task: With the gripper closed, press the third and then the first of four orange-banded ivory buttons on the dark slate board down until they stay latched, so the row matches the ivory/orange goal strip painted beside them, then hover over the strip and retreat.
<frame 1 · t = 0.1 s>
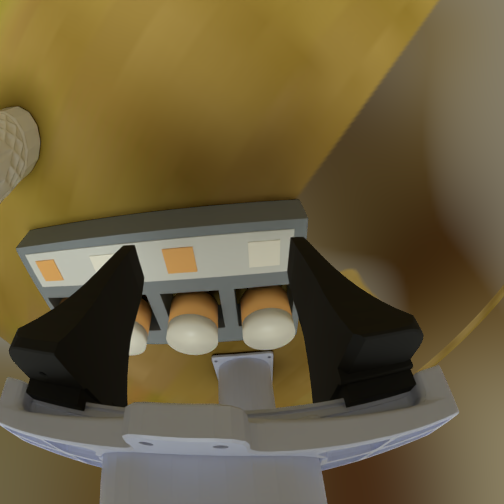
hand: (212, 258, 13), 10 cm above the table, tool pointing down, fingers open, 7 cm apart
board: (159, 276, 27), on the table
button 1: (266, 317, 25), point 4 cm above the table, slide at 0.0 cm
button 3: (126, 324, 24), point 4 cm above the table, slide at 0.0 cm
white cup: (15, 141, 17), on the table
button 4: (72, 324, 24), point 4 cm above the table, slide at 0.0 cm
button 2: (193, 322, 24), point 4 cm above the table, slide at 0.0 cm
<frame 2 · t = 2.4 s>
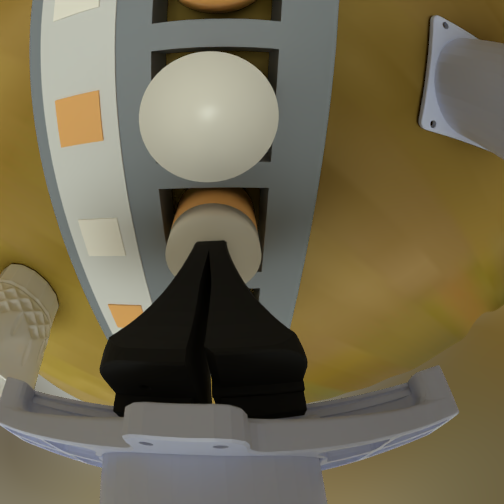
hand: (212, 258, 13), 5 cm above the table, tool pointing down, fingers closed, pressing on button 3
board: (179, 155, 15), on the table
button 3: (214, 234, 15), point 3 cm above the table, slide at 1.3 cm, touching gripper
white cup: (30, 289, 20), on the table
button 2: (211, 109, 10), point 4 cm above the table, slide at 0.0 cm
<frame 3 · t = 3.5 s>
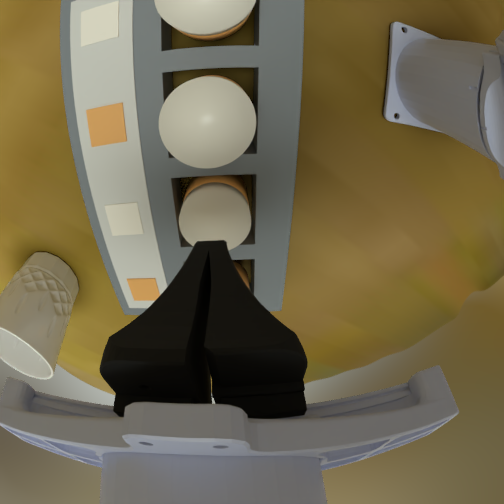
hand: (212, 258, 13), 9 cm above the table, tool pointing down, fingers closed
board: (185, 152, 18), on the table
button 3: (215, 207, 19), point 2 cm above the table, slide at 2.0 cm
white cup: (53, 275, 24), on the table
button 4: (220, 298, 21), point 4 cm above the table, slide at 0.0 cm
button 2: (209, 116, 13), point 4 cm above the table, slide at 0.0 cm
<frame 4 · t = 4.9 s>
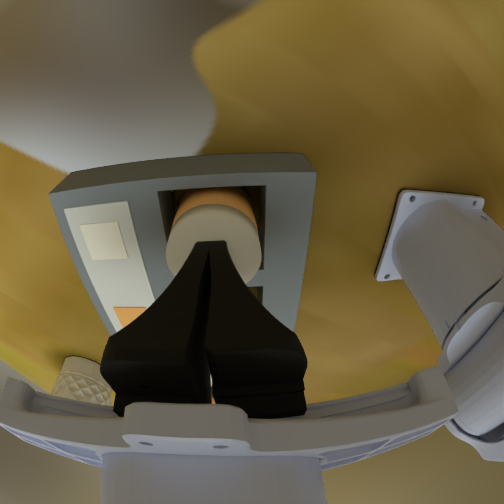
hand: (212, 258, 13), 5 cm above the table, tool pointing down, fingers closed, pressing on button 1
board: (201, 314, 23), on the table
button 1: (214, 234, 15), point 3 cm above the table, slide at 1.2 cm, touching gripper
button 3: (228, 357, 23), point 2 cm above the table, slide at 2.0 cm
white cup: (88, 368, 29), on the table
button 4: (233, 406, 25), point 4 cm above the table, slide at 0.0 cm
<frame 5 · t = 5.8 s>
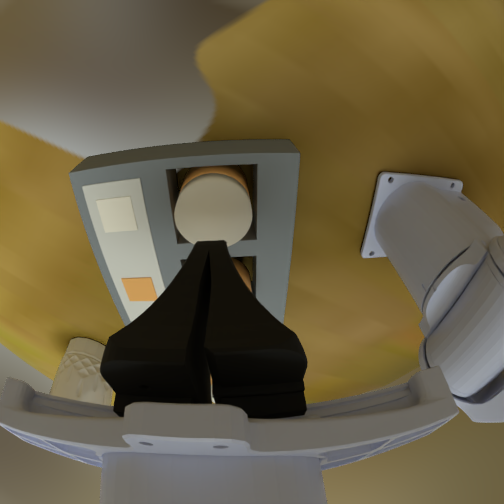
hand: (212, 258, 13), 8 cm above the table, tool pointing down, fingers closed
board: (200, 289, 25), on the table
button 1: (214, 201, 17), point 2 cm above the table, slide at 2.0 cm
white cup: (92, 350, 31), on the table
button 4: (231, 381, 28), point 4 cm above the table, slide at 0.0 cm
button 2: (220, 298, 20), point 4 cm above the table, slide at 0.0 cm
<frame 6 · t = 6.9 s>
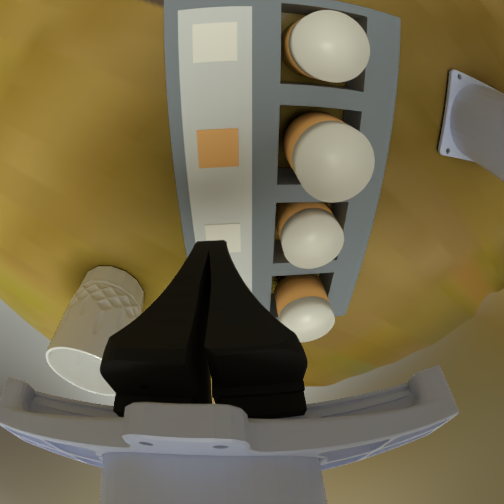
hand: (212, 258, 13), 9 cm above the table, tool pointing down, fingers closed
board: (278, 176, 21), on the table
button 1: (322, 47, 13), point 2 cm above the table, slide at 2.0 cm
button 3: (307, 228, 21), point 2 cm above the table, slide at 2.0 cm
white cup: (114, 288, 27), on the table
button 4: (303, 307, 23), point 4 cm above the table, slide at 0.0 cm
button 2: (326, 153, 15), point 4 cm above the table, slide at 0.0 cm
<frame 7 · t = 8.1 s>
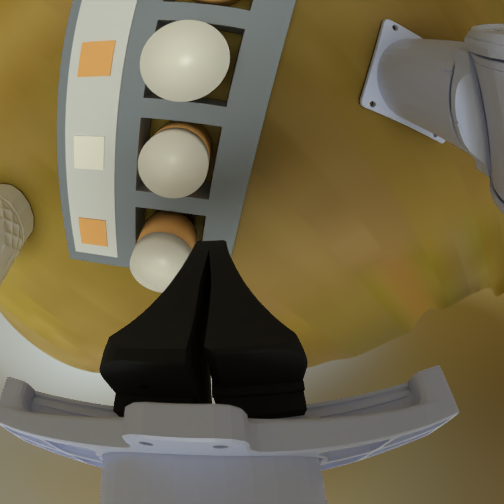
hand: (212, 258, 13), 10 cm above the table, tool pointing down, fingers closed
board: (161, 102, 17), on the table
button 3: (177, 156, 18), point 2 cm above the table, slide at 2.0 cm
white cup: (12, 211, 21), on the table
button 4: (165, 251, 20), point 4 cm above the table, slide at 0.0 cm
button 2: (189, 60, 12), point 4 cm above the table, slide at 0.0 cm
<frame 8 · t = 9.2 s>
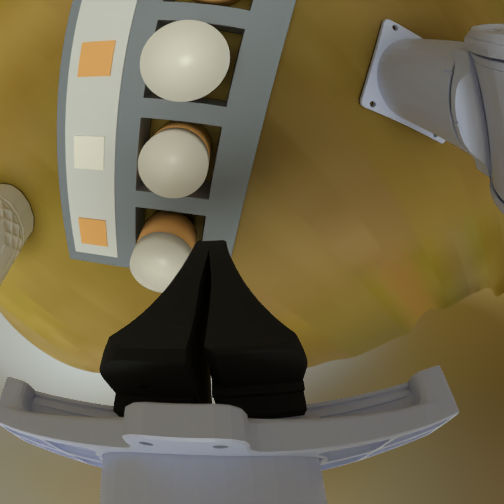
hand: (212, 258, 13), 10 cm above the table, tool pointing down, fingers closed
board: (161, 102, 17), on the table
button 3: (177, 156, 18), point 2 cm above the table, slide at 2.0 cm
white cup: (12, 211, 21), on the table
button 4: (165, 251, 20), point 4 cm above the table, slide at 0.0 cm
button 2: (189, 60, 12), point 4 cm above the table, slide at 0.0 cm
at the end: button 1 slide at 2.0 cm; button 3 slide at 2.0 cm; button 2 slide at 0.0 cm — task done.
